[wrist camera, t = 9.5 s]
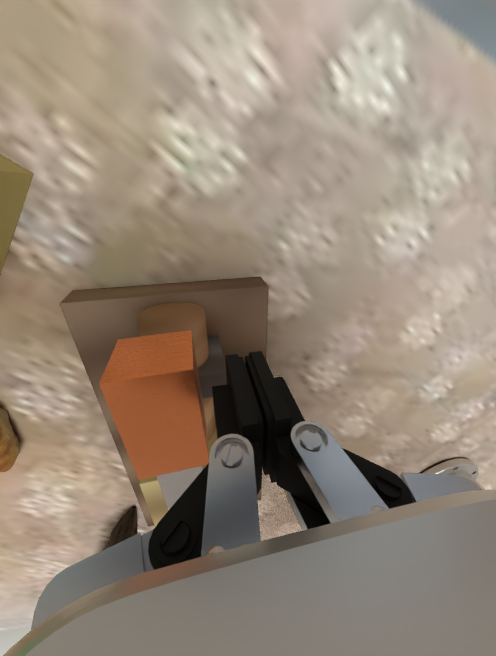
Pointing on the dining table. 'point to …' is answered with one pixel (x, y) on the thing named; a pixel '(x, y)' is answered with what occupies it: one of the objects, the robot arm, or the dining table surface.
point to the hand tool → (124, 528)
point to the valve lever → (159, 408)
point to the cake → (11, 201)
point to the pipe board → (121, 323)
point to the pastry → (7, 443)
